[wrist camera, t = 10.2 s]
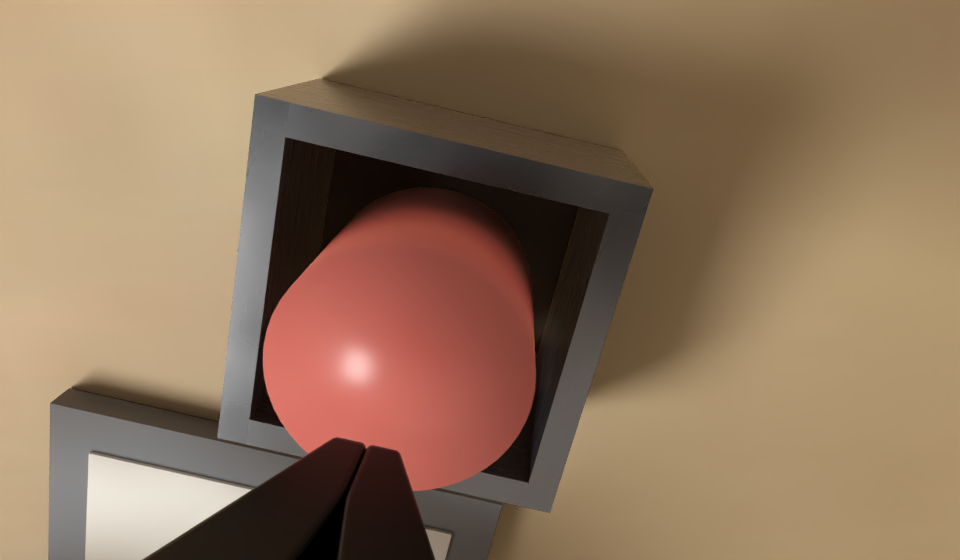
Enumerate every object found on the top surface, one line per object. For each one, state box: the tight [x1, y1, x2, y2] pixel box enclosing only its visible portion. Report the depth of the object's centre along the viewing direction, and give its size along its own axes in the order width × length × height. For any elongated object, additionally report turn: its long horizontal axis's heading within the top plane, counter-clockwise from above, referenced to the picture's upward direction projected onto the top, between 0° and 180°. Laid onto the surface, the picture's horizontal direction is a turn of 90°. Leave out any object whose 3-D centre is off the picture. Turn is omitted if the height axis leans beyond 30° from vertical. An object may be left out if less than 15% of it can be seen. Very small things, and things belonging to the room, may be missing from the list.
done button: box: [263, 187, 536, 491], centre depth 13 cm, size 4×4×4 cm
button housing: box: [217, 79, 653, 513], centre depth 15 cm, size 7×7×4 cm
